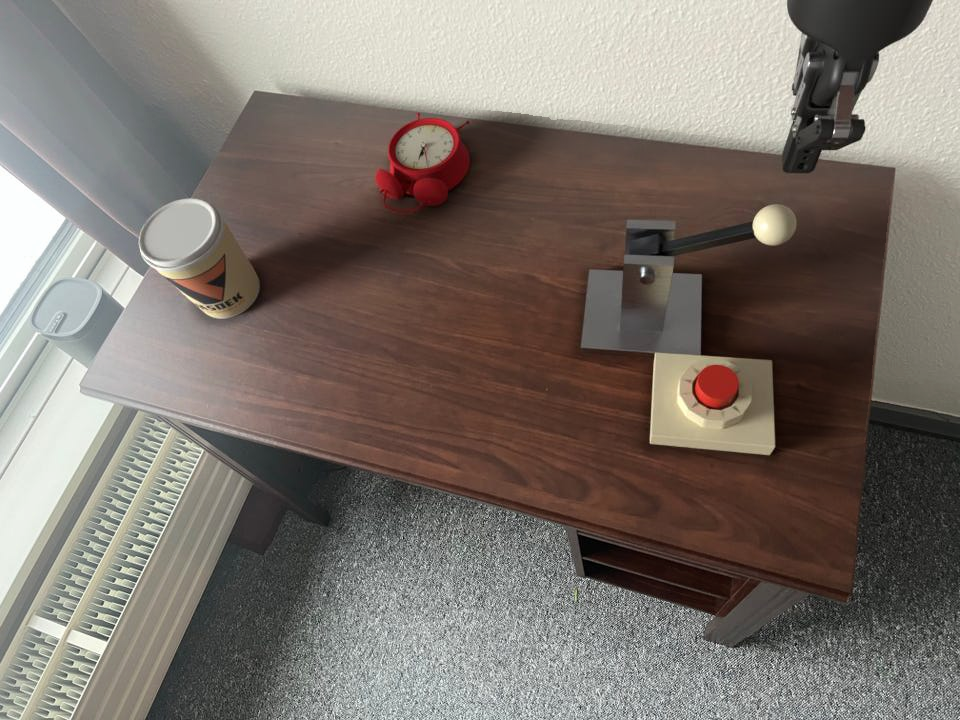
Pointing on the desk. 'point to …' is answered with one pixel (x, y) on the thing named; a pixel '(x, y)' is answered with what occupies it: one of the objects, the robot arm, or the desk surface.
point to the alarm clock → (424, 162)
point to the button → (716, 386)
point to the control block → (712, 428)
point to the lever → (724, 234)
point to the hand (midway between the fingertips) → (796, 165)
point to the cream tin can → (200, 257)
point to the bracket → (643, 303)
